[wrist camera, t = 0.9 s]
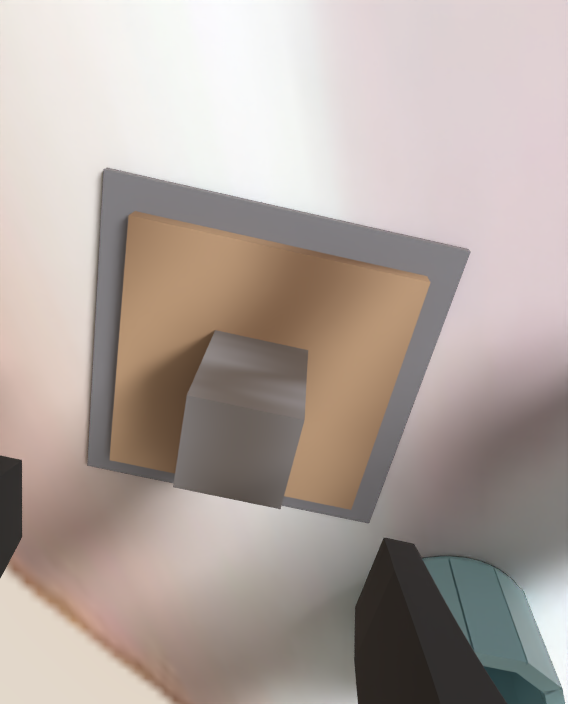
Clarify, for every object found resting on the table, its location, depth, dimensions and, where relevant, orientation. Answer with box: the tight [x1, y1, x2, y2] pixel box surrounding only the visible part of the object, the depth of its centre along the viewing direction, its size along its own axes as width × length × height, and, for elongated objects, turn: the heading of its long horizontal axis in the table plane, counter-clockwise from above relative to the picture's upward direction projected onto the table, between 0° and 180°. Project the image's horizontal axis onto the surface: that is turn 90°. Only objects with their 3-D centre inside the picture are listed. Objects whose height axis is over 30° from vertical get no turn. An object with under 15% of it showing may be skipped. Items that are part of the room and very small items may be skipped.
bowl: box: [422, 556, 565, 704], centre depth 21 cm, size 7×7×4 cm
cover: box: [110, 211, 431, 510], centre depth 16 cm, size 9×9×5 cm
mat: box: [87, 168, 470, 523], centre depth 18 cm, size 11×11×1 cm
